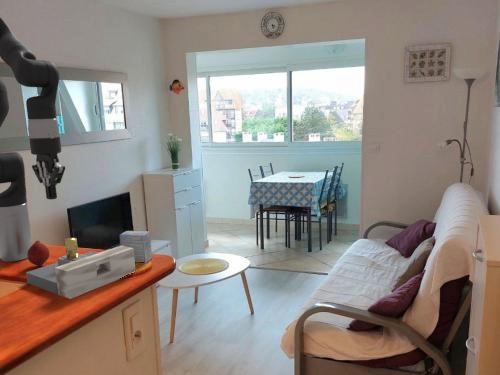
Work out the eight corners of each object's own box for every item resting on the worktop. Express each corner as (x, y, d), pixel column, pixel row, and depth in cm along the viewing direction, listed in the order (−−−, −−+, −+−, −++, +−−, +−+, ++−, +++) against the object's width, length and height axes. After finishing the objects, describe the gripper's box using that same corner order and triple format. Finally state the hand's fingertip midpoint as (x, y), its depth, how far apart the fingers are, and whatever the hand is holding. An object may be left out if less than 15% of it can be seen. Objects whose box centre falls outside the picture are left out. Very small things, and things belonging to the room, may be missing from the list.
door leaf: (27, 283, 112) (24, 264, 111) (92, 260, 128) (91, 244, 127) (57, 294, 104) (54, 274, 103) (122, 268, 120) (121, 251, 119)
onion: (41, 270, 121) (38, 243, 120) (24, 269, 122) (20, 243, 121) (54, 263, 127) (51, 237, 126) (38, 262, 128) (34, 237, 127)
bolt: (62, 263, 116) (59, 239, 115) (71, 260, 119) (69, 236, 118) (86, 270, 110) (83, 244, 109) (95, 267, 113) (93, 241, 111)
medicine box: (152, 258, 128) (150, 231, 127) (146, 263, 124) (143, 235, 122) (128, 257, 130) (126, 230, 128) (121, 262, 125) (119, 234, 124)
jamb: (58, 294, 104) (54, 267, 102) (123, 269, 120) (121, 245, 119) (69, 299, 101) (66, 271, 100) (135, 272, 117) (133, 248, 116)
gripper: (18, 137, 115) (25, 199, 118) (44, 137, 107) (52, 203, 110) (44, 135, 121) (51, 194, 124) (71, 135, 113) (78, 198, 116)
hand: (51, 198), depth 117 cm, fingers closed
